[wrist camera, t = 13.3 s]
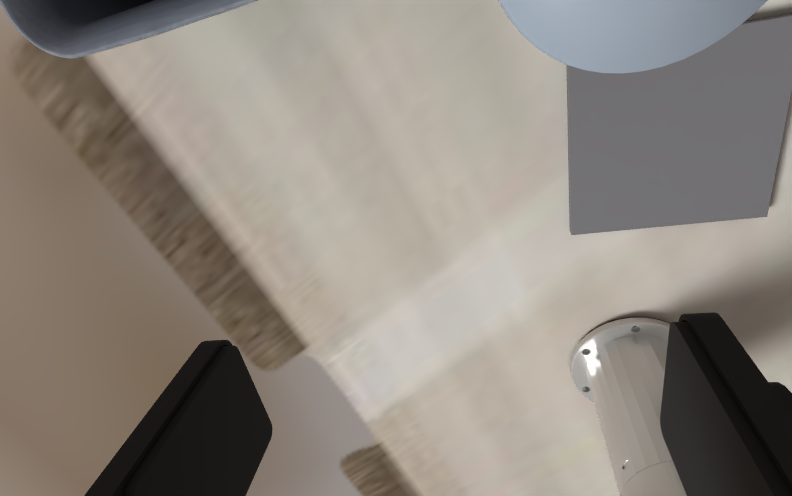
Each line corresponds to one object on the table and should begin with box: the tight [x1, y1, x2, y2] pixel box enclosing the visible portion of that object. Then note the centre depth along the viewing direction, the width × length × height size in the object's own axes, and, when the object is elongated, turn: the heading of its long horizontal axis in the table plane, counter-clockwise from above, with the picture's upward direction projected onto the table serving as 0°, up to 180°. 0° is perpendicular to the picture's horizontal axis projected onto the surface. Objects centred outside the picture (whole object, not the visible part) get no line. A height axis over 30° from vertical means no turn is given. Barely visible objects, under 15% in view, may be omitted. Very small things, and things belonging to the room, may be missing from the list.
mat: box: [567, 13, 792, 235], centre depth 39 cm, size 16×16×1 cm
